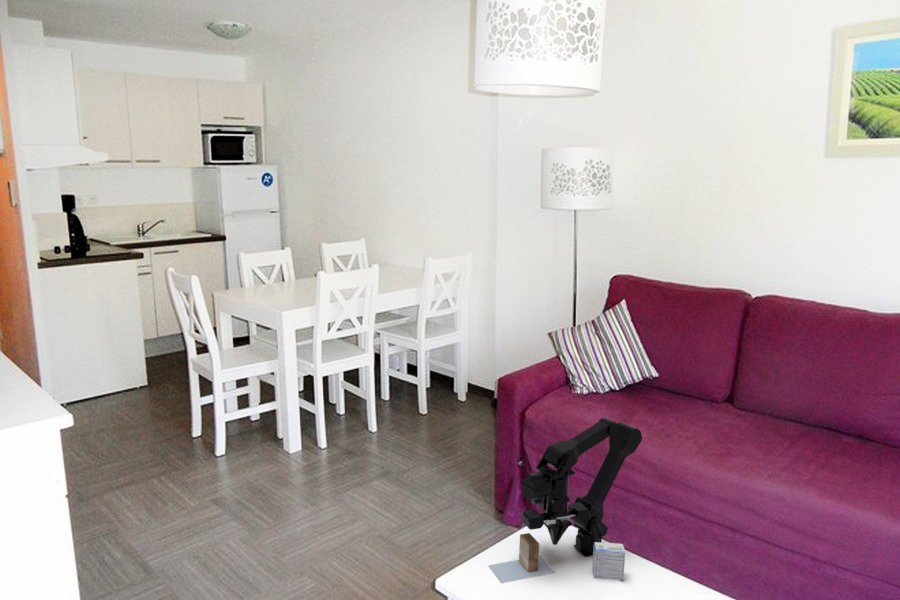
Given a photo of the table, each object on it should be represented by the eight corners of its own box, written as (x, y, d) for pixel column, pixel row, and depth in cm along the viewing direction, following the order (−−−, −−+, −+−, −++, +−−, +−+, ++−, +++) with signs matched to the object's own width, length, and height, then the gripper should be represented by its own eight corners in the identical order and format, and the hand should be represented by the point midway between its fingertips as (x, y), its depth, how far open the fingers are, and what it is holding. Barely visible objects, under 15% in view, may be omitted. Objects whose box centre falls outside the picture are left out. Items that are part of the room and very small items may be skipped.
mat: (540, 557, 196) (540, 555, 196) (555, 573, 188) (555, 572, 188) (487, 566, 191) (487, 565, 191) (501, 584, 183) (501, 583, 182)
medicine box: (621, 572, 189) (623, 543, 188) (623, 582, 185) (625, 551, 183) (591, 570, 190) (593, 541, 189) (593, 579, 186) (595, 549, 184)
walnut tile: (528, 559, 194) (529, 532, 193) (538, 570, 189) (539, 543, 187) (518, 561, 193) (519, 534, 192) (528, 572, 188) (529, 545, 186)
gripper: (572, 475, 201) (569, 525, 203) (513, 483, 194) (511, 535, 197) (592, 491, 190) (589, 544, 193) (531, 501, 184) (529, 555, 187)
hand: (554, 544), depth 193 cm, fingers closed
